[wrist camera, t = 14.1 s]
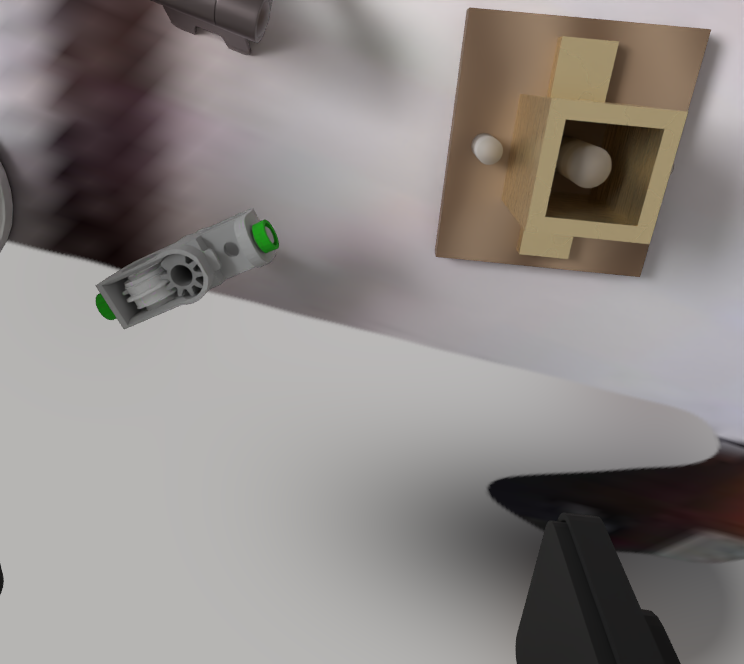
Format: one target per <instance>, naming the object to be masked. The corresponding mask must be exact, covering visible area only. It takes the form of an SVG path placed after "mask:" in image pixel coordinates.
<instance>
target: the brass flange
mask: <svg viewBox="0 0 744 664" xmlns="http://www.w3.org/2000/svg"><path fill="white" fill-rule="evenodd" d="M618 44H619V42H618V41H608V40H597V39H587V38H576V37H566V36H561V37H558V40H557V46H556V51H555V56H554V61H553V66H552V71H551V76H550V81H549V86H548V91H547V96H538V95H527V94H520V97H519V103H518V109H517V114H516V120H515V125H514V131H513V137H512V142H511V148H510V153H509V159H508V165H507V170H506V176H505V181H504V187H503V193H502V198H501V200H502V201H503V203H504V204H505V205H506V207H507V208H508V209H509V211H510V212H511V213H512V215H513V216H514V217H515V219H516V220H517V221H518V223H519V224H520V225H521V229H520V234H519V239H518V244H517V251H518V253H519V254H522V255H532V256H542V257H552V258H561V259H568V257H569V253H570V249H571V244H572V240H573V236H574V237H584V238H593V239H603V240H613V241H623V242H633V243H642V244H650V241H651V237H652V234H653V231H654V227H655V224H656V220H657V217H658V213H659V210H660V207H661V203H662V200H663V196H664V193H665V189H666V186H667V183H668V179H669V176H670V172H671V169H672V165H673V162H674V159H675V155H676V152H677V148H678V145H679V141H680V138H681V135H682V131H683V128H684V124H685V121H686V117H687V114H688V112H686V111H678V110H670V109H662V108H654V107H645V106H637V105H629V104H620V103H609V102H605V100H606V95H607V91H608V87H609V83H610V78H611V74H612V70H613V66H614V61H615V57H616V53H617V49H618ZM566 119H567V120H577V121H587V122H597V123H607V125H606V129H605V133H604V138H603V142H602V146H601V148H602V149H604V150H605V151H607V153H608V154H609V156H610V158H611V162H612V167H611V171H610V174H609V176H608V177H607V179H606V180H605V181H604V182H603V183H601V184H600V185H598V186H596V187H593V188H591V192H590V195H584V194H574V193H564V192H554V191H551V187H552V182H553V177H554V173H555V168H556V163H557V158H558V154H559V149H560V144H561V140H562V135H563V130H564V125H565V121H566Z"/></svg>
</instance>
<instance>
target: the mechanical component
mask: <svg viewBox="0 0 744 664" xmlns="http://www.w3.org/2000/svg"><path fill="white" fill-rule="evenodd" d="M278 247H279V242H278V238H277V235H276V233H275V231H274V229H273V227H272V225H271V224H270V223H269V222H268V221H267V220H263V221H259V219H258V217H257V215H256V213H255V211H254V210H253V209H249V210H247V211H244V212H242V213H240V214H237V215H235V216H233V217H231V218H229V219H226V220H224V221H222V222H220V223H218V224H215V225H213V226H211V227H209V228H203V229H200V230H198V231H197V232H196V233H195V234H190V235H187V236H185V237H183V238H182V239H180V240H179V241H177V242H176V243H174V244H171V245H169V246H167V247H165V248H163V249H160V250H158V251H156V252H154V253H152V254H149V255H147V256H145V257H143V258H141V259H139V260H137V261H135V262H133V263H131V264H129V265H127V266H126V267H124V268H122V269H121V270H119V271H118V272H116V273H115V274H113V275H111V276H109V277H108V278H106V279H105V280H103V281H102V282H101V283H99V284H97V285H96V287H97V288H98V290H99V292H100V294H98V295H97V297H96V306H97V308H98V310H99V312H100V313H101V314H102V316H103V317H105V318H106V319H109V320H114V319H116V318H117V319H118V321H119V322H120V324H121V325H122V327H123V329H126V328H128V327H131V326H133V325H135V324H137V323H140V322H142V321H145V320H147V319H149V318H152V317H154V316H157V315H159V314H161V313H164V312H166V311H168V310H171V309H173V308H175V307H178V306H180V305H184V304H191V303H194V302H196V301H198V300H199V299H201V298H202V297H203V296H204V295H205V294H206V292H207V291H208V290H209V289H211V288H214V287H216V286H218V285H221V284H222V283H223V282H224V281H225V280H226V279H228V278H231V277H233V276H235V275H238V274H240V273H242V272H245V271H247V270H249V269H252V268H254V267H257V268H259V267H261V266H264V265H266V264H268V263H270V262H271V261H272V260H273V258H274V257H275V256H276V252H275V249H278Z"/></svg>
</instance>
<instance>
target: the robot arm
mask: <svg viewBox="0 0 744 664" xmlns="http://www.w3.org/2000/svg"><path fill="white" fill-rule="evenodd" d="M12 216H13V203H12V195H11V189H10V186H9V182H8V179H7V176H6V172H5V170H4V168H3V166H2V164H1V162H0V252H1V250H2V248H3V246H4V245H5V243H6V241H7V240H8V236H9V233H10V230H11V226H12ZM3 582H4V580H3V573H2V570H1V565H0V594H1V591H2V588H3ZM516 661H517V664H680V662H679V659H678V657H677V655H676V653H675V651H674V649H673V646H672V644H671V642H670V640H669V638H668V636H667V633H666V631H665V629H664V627H663V625H662V623H661V622H660V620H659V618H658V617H657V616H656V615H655V614H654V613H653V612H652V611H649V610H643V609H641V608H640V606H639V604H638V601H637V599H636V597H635V594H634V592H633V590H632V587H631V585H630V583H629V580H628V578H627V576H626V574H625V571H624V569H623V567H622V564H621V562H620V560H619V558H618V555H617V553H616V551H615V548H614V546H613V544H612V541H611V539H610V537H609V535H608V532H607V530H606V528H605V525H604V523H603V521H602V520H601V518H599V517H598V516H590V515H581V514H571V513H561V515H560V516H559V518H558V521H548V523H547V525H546V528H545V531H544V535H543V539H542V543H541V546H540V550H539V554H538V558H537V561H536V565H535V569H534V573H533V576H532V580H531V585H530V588H529V592H528V595H527V599H526V603H525V606H524V610H523V614H522V618H521V621H520V625H519V629H518V633H517V637H516Z"/></svg>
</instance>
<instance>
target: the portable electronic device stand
mask: <svg viewBox="0 0 744 664" xmlns="http://www.w3.org/2000/svg"><path fill="white" fill-rule="evenodd" d="M151 1H154V2H156V3H159V4H161V5H163V7H164V9H165V11H166V13H167V14H168V16H169V18H170V20H171V23H172V24H173V25H175V26H176V27H178V28H180V29H182V30H184V31H187V32H189V33H192V34H194V35H195V34H196V26H197V27H200V28H202V29H205V30H207V31H210V32H212V33H215V34H217V35H219V36H221V37H222V38H223V39H224V41H225V43H226V45H227V46H228V48H230V49H232V50H235V51H237V52H240V53H242V54H245V55H249V54H250V52H251V49H250V46H249V42H248V40H251V41H253V42H256V43H258V42H259V41H260V40H261V38H262V37H263V35H264V32H265V30H266V27H267V24H268V21H269V15H270V9H271V4H272V0H151Z"/></svg>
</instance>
